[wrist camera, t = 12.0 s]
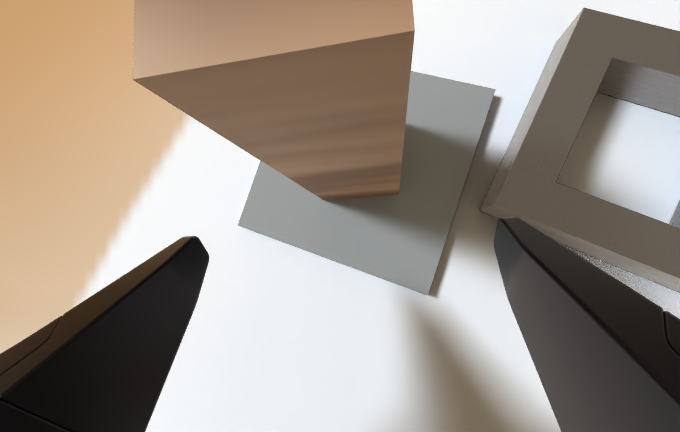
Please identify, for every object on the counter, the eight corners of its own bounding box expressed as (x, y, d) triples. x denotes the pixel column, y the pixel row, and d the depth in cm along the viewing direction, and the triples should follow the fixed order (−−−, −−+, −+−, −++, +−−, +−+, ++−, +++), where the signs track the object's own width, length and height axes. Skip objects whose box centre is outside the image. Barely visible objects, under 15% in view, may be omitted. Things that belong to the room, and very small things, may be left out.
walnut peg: (398, 194, 17) (414, 30, 4) (323, 200, 17) (132, 79, 5) (393, 120, 17) (391, -242, 4) (320, 129, 18) (139, -156, 5)
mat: (426, 293, 16) (427, 295, 16) (242, 225, 19) (237, 225, 18) (492, 94, 17) (495, 89, 16) (303, 53, 19) (300, 47, 19)
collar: (690, 296, 14) (751, 307, 12) (479, 210, 16) (494, 204, 14) (776, 103, 14) (854, 74, 12) (555, 42, 16) (583, 7, 14)
